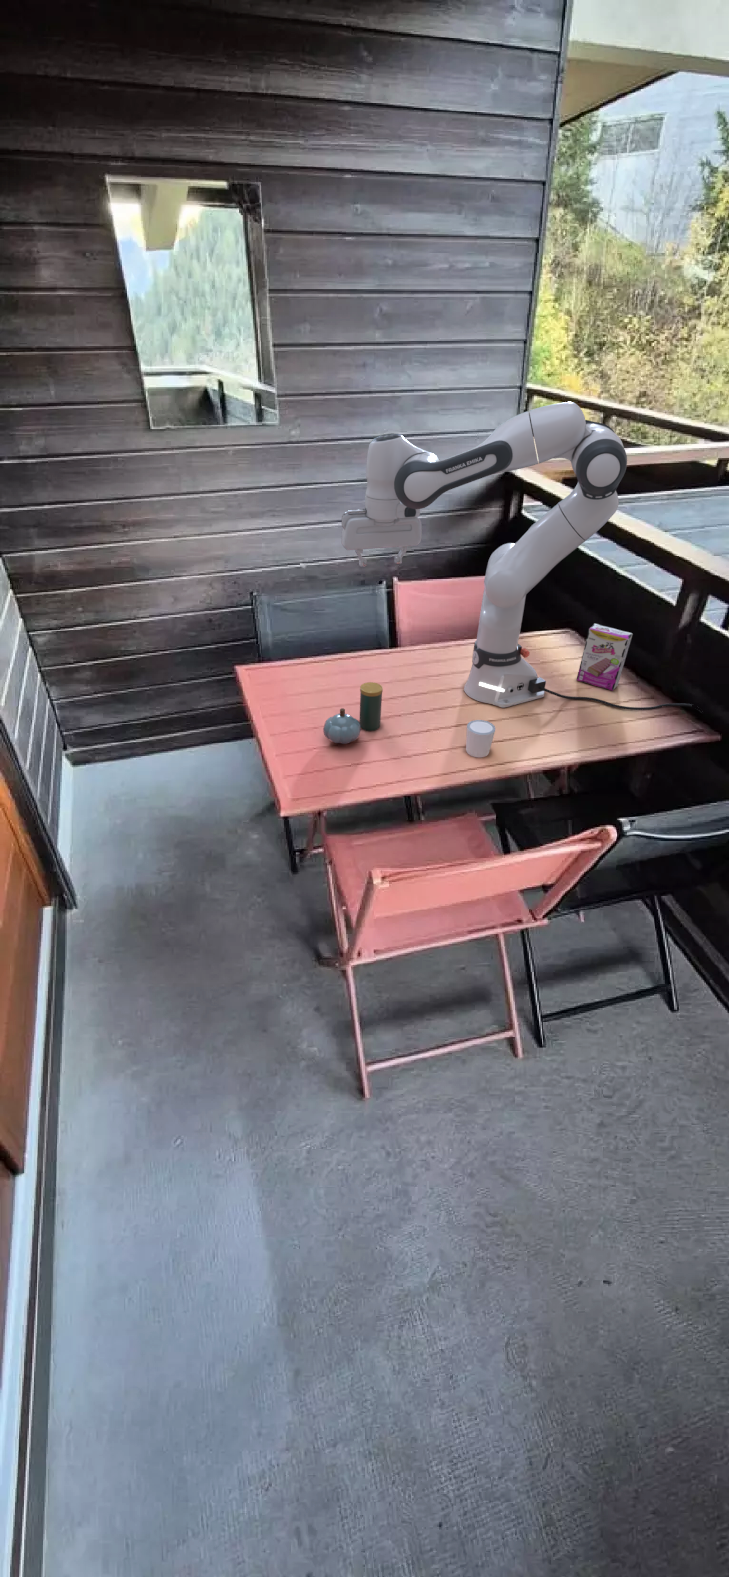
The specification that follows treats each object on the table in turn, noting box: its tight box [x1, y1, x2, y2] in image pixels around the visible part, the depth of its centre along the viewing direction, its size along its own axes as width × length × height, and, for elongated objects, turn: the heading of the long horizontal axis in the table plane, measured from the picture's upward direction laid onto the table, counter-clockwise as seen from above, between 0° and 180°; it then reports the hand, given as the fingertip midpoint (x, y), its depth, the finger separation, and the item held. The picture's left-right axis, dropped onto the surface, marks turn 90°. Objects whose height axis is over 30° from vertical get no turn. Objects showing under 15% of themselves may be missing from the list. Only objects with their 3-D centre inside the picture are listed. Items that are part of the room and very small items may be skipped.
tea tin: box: [358, 681, 384, 732], centre depth 177 cm, size 6×6×11 cm
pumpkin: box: [322, 707, 362, 745], centre depth 171 cm, size 9×9×9 cm
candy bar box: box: [576, 623, 634, 692], centre depth 198 cm, size 11×5×16 cm, turn 58°
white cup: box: [465, 719, 496, 758], centre depth 170 cm, size 7×7×7 cm
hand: (380, 564), depth 178 cm, fingers open, 8 cm apart
